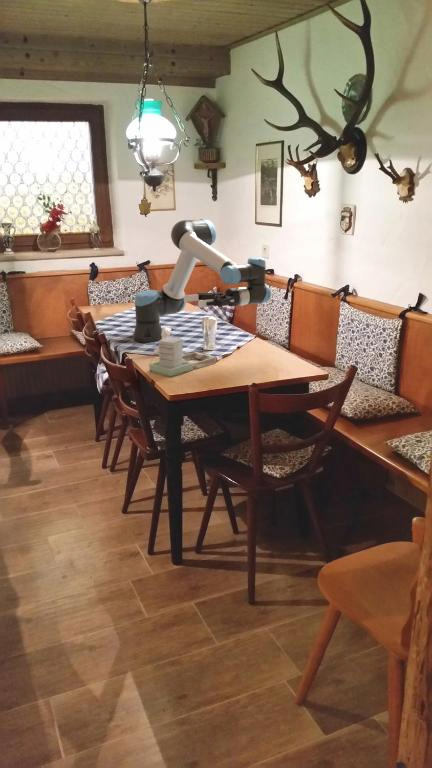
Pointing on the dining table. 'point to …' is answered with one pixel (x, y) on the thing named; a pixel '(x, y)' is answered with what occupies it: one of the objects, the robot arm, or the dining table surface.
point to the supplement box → (170, 352)
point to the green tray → (170, 372)
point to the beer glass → (209, 332)
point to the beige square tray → (206, 358)
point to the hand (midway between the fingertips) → (191, 301)
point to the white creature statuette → (165, 333)
